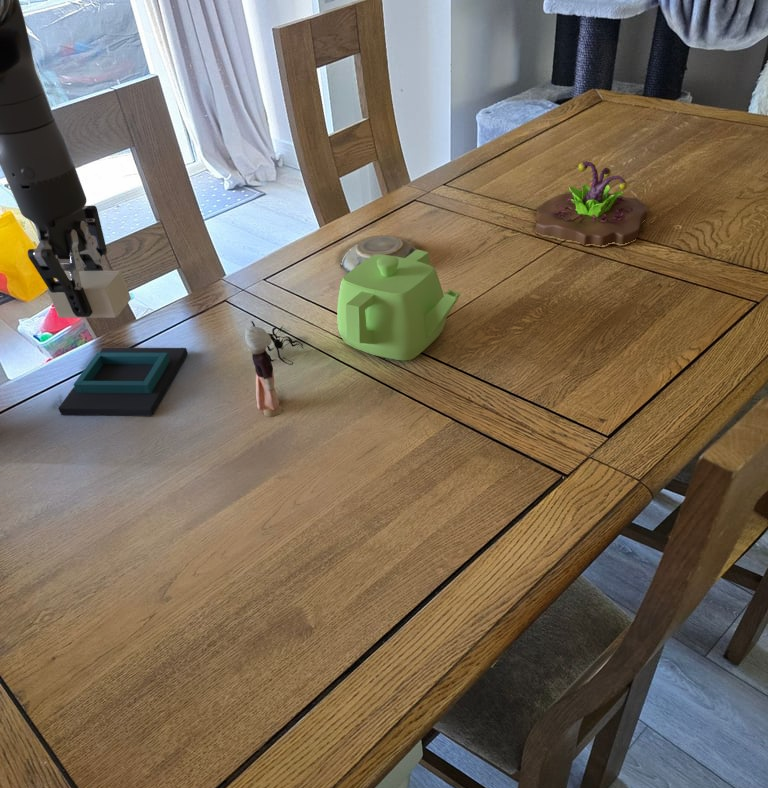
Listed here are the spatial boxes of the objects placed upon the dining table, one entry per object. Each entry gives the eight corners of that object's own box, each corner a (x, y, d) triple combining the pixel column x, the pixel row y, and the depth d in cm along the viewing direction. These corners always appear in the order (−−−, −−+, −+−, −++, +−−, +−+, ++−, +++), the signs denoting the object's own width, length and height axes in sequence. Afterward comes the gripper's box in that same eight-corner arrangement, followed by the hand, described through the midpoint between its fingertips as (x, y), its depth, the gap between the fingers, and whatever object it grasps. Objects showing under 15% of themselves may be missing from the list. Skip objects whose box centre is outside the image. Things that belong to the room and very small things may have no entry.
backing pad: (61, 415, 100) (53, 399, 98) (105, 354, 111) (99, 339, 109) (152, 416, 98) (146, 400, 96) (188, 354, 109) (183, 339, 107)
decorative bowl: (349, 246, 133) (331, 282, 123) (348, 226, 131) (329, 262, 120) (427, 247, 131) (415, 284, 120) (427, 227, 128) (415, 264, 118)
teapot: (488, 327, 108) (491, 245, 99) (421, 394, 97) (418, 309, 88) (390, 301, 116) (384, 224, 107) (318, 361, 105) (304, 280, 96)
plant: (553, 198, 141) (559, 139, 133) (652, 209, 134) (664, 147, 126) (522, 240, 129) (526, 177, 121) (629, 253, 122) (641, 187, 114)
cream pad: (58, 317, 90) (46, 289, 87) (75, 298, 94) (64, 270, 91) (116, 318, 89) (105, 289, 86) (131, 298, 92) (121, 270, 90)
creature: (300, 344, 111) (249, 342, 109) (302, 313, 108) (250, 310, 106) (305, 370, 106) (252, 369, 104) (307, 339, 102) (252, 336, 100)
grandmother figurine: (250, 400, 99) (229, 320, 90) (275, 391, 100) (257, 311, 91) (268, 428, 94) (249, 346, 85) (295, 418, 95) (278, 337, 86)
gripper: (38, 147, 84) (90, 279, 96) (-25, 192, 75) (41, 333, 87) (96, 145, 83) (141, 278, 95) (39, 191, 73) (97, 333, 85)
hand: (93, 304), depth 91 cm, fingers closed on cream pad, 5 cm apart
